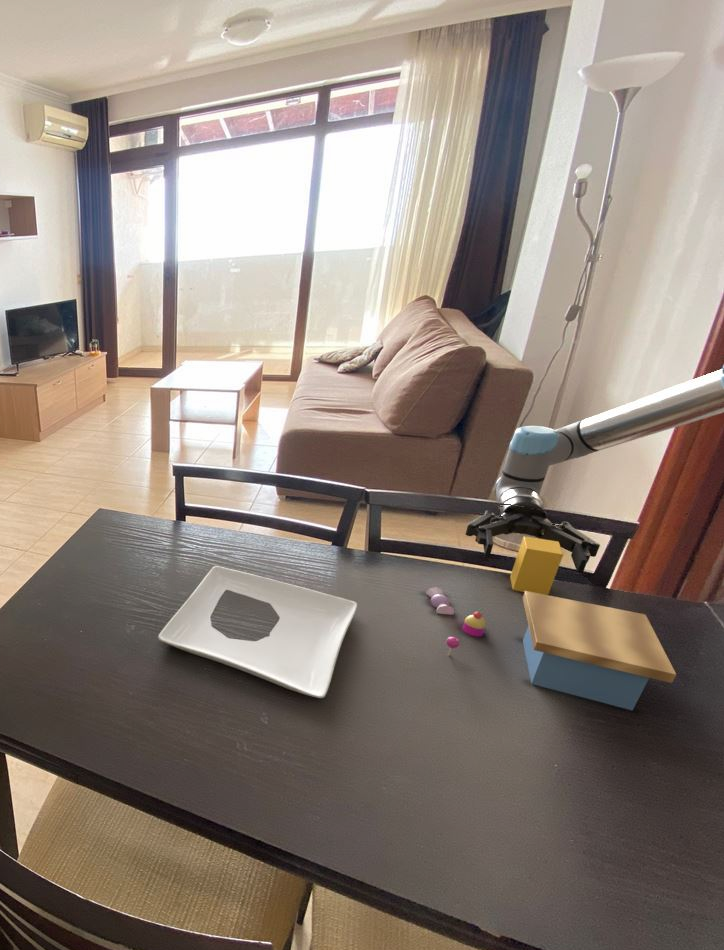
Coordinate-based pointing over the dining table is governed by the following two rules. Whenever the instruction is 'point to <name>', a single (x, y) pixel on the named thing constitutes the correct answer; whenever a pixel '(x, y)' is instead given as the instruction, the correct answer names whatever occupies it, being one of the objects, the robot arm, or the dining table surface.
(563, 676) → the blue box
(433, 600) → the candy
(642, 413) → the robot arm
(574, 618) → the birch board
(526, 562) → the yellow block
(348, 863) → the dining table surface
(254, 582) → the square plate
